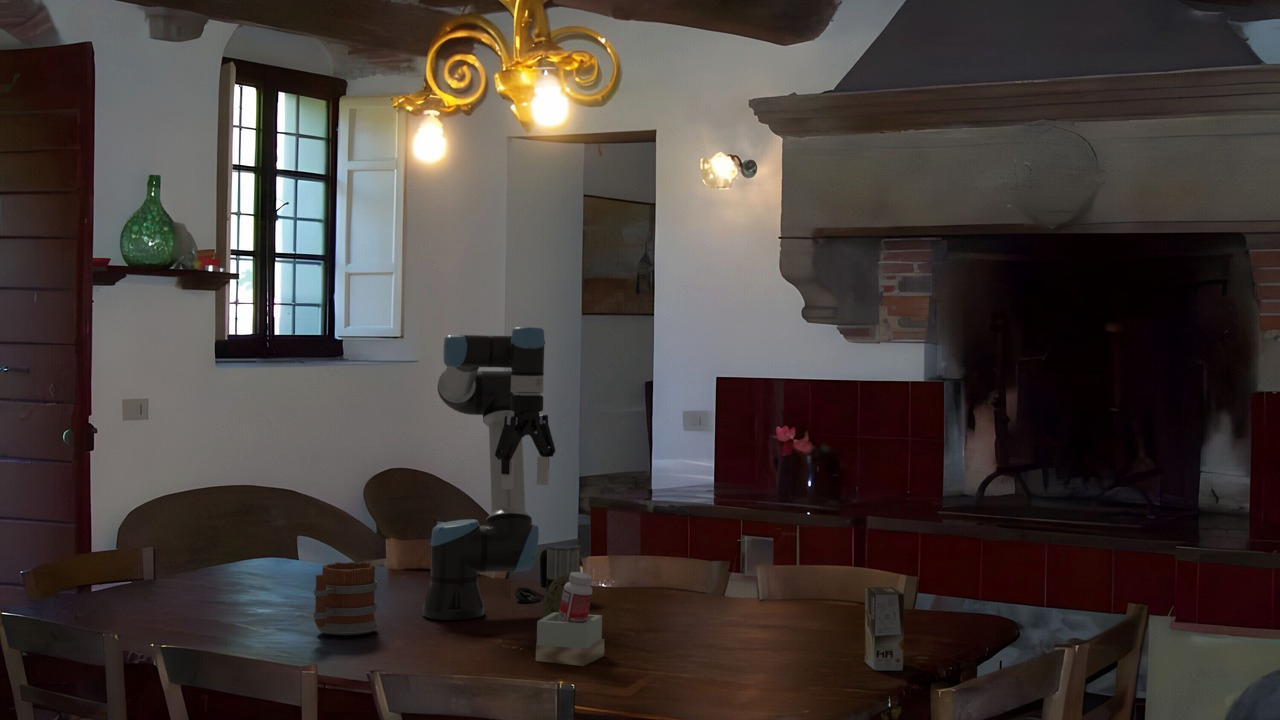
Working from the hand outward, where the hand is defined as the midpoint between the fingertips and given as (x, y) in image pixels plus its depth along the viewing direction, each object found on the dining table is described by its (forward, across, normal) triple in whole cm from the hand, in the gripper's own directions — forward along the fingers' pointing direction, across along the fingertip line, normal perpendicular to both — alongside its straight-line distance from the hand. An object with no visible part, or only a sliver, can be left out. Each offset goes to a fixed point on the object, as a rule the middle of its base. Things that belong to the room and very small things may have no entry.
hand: (525, 486), depth 307 cm
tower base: (+34, -13, -22) cm, 43 cm away
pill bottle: (+27, -13, -22) cm, 37 cm away
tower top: (+30, -13, -22) cm, 40 cm away
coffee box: (+34, +19, -80) cm, 89 cm away
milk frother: (+35, +40, +22) cm, 58 cm away
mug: (+35, -20, +37) cm, 55 cm away
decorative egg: (+34, +3, -10) cm, 36 cm away
